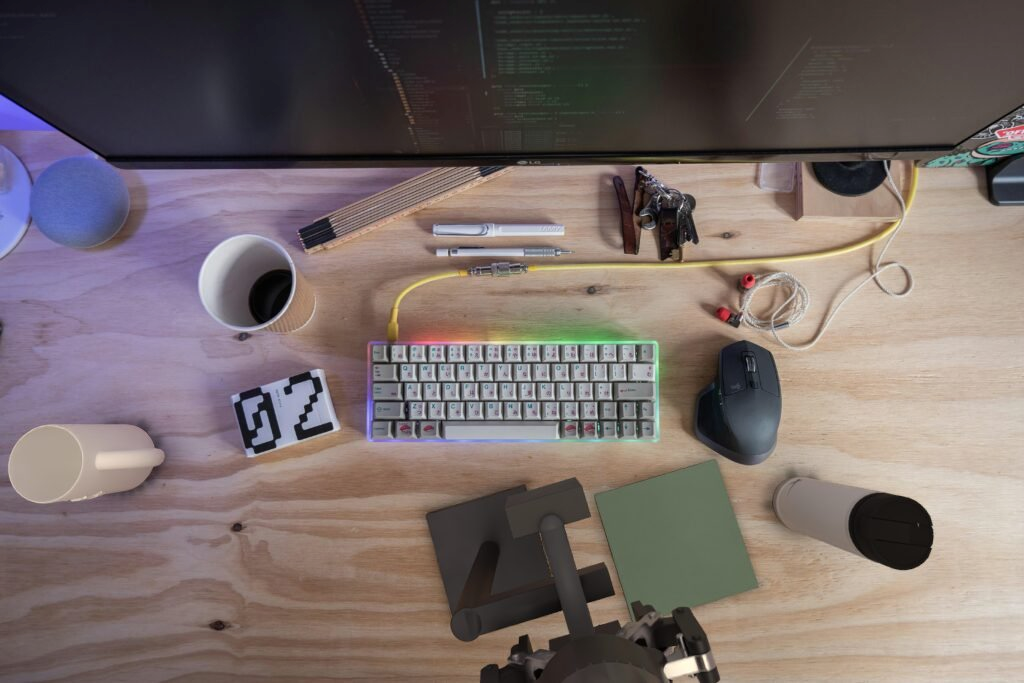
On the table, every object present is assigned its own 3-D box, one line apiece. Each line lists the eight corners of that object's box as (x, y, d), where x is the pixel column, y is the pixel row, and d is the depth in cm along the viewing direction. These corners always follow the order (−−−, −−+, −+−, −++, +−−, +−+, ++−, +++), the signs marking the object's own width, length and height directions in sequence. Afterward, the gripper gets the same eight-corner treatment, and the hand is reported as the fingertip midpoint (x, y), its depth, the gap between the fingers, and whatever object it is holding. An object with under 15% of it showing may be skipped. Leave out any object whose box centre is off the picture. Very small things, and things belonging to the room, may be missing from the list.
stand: (595, 573, 70) (637, 665, 43) (454, 615, 69) (408, 734, 43) (565, 472, 71) (587, 500, 45) (427, 512, 71) (366, 565, 44)
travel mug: (771, 472, 71) (866, 490, 51) (828, 480, 70) (945, 501, 51) (767, 526, 70) (861, 566, 50) (824, 535, 69) (942, 578, 50)
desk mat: (758, 586, 69) (759, 587, 68) (633, 624, 69) (633, 625, 68) (715, 459, 71) (716, 459, 71) (594, 495, 71) (594, 495, 70)
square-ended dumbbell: (626, 649, 49) (645, 694, 41) (556, 669, 49) (561, 719, 41) (575, 476, 51) (583, 486, 43) (508, 496, 51) (502, 510, 43)
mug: (187, 490, 72) (120, 503, 60) (89, 494, 72) (3, 507, 61) (189, 421, 73) (124, 421, 61) (93, 425, 74) (10, 425, 62)
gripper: (490, 881, 27) (504, 712, 43) (788, 790, 28) (692, 655, 44) (447, 711, 28) (476, 607, 44) (734, 624, 29) (659, 552, 45)
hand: (583, 631), depth 44 cm, fingers open, 8 cm apart
